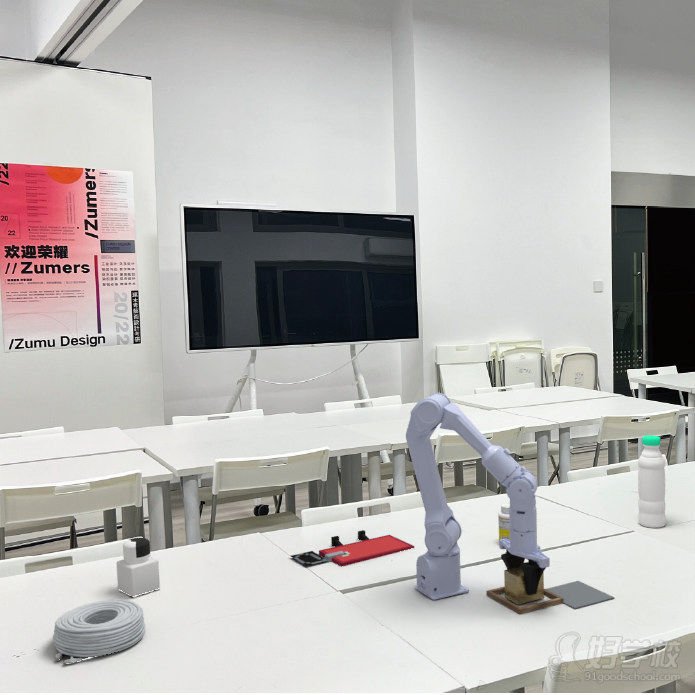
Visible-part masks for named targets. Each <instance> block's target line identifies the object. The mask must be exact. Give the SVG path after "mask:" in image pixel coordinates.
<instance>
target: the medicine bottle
mask: <svg viewBox="0 0 695 695" xmlns="http://www.w3.org/2000/svg"><path fill="white" fill-rule="evenodd" d="M122 549H123V550H122V552H123V553H122V555H123V559H121V560H118V561H116V562H115V564H116V580H117V590H118V589H120V590H122V591H123V592H125V593H127V594H129V595H131V596H135V595H139V594H142V593H145V592H149V591H152V590H155V589H158V588H160V589H161V585H160V584H161V583H160V564H159V560H158V559H156V558H154V557H151V542H150V540H149V539H148V538H145V537H133V538H130V539H127V540H126V541H124V543H123V544H122Z"/></svg>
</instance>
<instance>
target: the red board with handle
mask: <svg viewBox="0 0 695 695" xmlns="http://www.w3.org/2000/svg"><path fill="white" fill-rule="evenodd" d="M358 539H359V540H358ZM362 539H363V540H362ZM357 540H358V541H356V542H351V543H347V544H343V543H342V542H341V541H340V536H338V535H334V536H331V537H330V542H331V547H329V548H328V547H327V548H324V549H320V550H318V553H317V552H315V551H313V550H309V551H306V552H300V553H296V554H293V555H290V557H292V558H293V559H294V560H295V561H298V562H299V563H301V564H303V566H305V567H306V566H310V565H311V566H312V565H315V564H319V563H322V562H327V563H332V562H333V563H334V564H335V565H337V564H338V565H337V566H340V567H341V568H342V566H343V567H347V566H350V565H354V564H358V563H362V562H366V561H368V560H374V559H378V558H382V557H385V556H388V555H393V554H396V553H400V551H401V552H404V550H405V551H408V549H409V550H412V549H411V548H413V549H415V545H413V544H410V543H408V542H407V541H404V540H402V539H400V538H398V537H395V536H393V535H391V534H387V535H382V536H377V537H374V538H373V537H371V538H369V537H368V536H367V535H366V530H359V531H357ZM334 546H335V547H334Z"/></svg>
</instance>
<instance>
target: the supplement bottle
mask: <svg viewBox="0 0 695 695" xmlns="http://www.w3.org/2000/svg"><path fill="white" fill-rule="evenodd" d="M509 507H510V502H509V503H502V504H501V505H500V511H499V512H498V514H497V515H498V516H497V518H498V541H499V540H501V539H509V540H510V521H509Z"/></svg>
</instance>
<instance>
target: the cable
mask: <svg viewBox="0 0 695 695" xmlns="http://www.w3.org/2000/svg"><path fill="white" fill-rule="evenodd" d="M145 632H146V624H145V618H144V610H143V608H142V607H141V606H140V605H139V604H138V603H136V602H134V601H131V600H128V599H127V600H126V599H116V598H115V599H105V600H98V601H93V602H90V603H86V604H85V603H84V604H83V605H80V606H77V607H75V608H73V609H70V610H69V611H67V612H65V613H63V614H62V615H60V616H59V617H58V618H57V619H56V621H55V623H54V630H53V635H52V640H53V644H54V646H55V648H56V650H57V651H58V653H57V654H55V656H54V659H55V661H57V660H59V659H61V660H62V658H63V656H62V654H63V655H66V656H69V657H70V658H69V659H65V660H64V661H63V662H62V664H63V665H64V664H65V663H73V662H77V661H80V660H82V659H85V658H88V657H95V656H100V657H103V656H102V655H104V656H107V655H106V654H108V655H111V653H112V654H115V653H114V652H116V653H119V652H122V651H124V650H126V649H128V648H130V647H133V646H134V645H135V644H136V643H138V642H139V641H140V640H142V638H143V637H144V635H145V634H146V633H145ZM118 651H119V652H118ZM74 657H76V658H74ZM65 665H66V664H65Z"/></svg>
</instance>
